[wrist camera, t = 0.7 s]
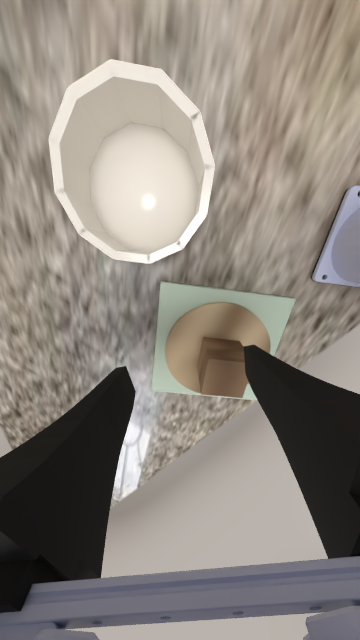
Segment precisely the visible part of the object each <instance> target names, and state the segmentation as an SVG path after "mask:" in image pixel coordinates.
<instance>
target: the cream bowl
mask: <svg viewBox="0 0 360 640" xmlns="http://www.w3.org/2000/svg"><path fill="white" fill-rule="evenodd" d="M49 147H50V155H51V164H52V173H53V181H54V190H55V193H56V195H57V197H58V199H59V200H60V202H61V204H62V206H63V207H64V209H65V211H66V213H67V214H68V216H69V218H70V220H71V221H72V223H73V225H74V227H75V228H76V230H77V232H78V234H79V235H80V236H82V237H83V238H84V239H86V240H87V241H89V242H90V243H91V244H93V245H94V246H96V247H97V248H98V249H100V250H101V251H102V252H104V253H105V254H107V255H108V256H109V257H111V258H112V259H116V260H123V261H131V262H139V263H146V264H151V263H153V262H155V261H157V260H159V259H162V258H164V257H166V256H168V255H171V254H173V253H175V252H177V251H180V250H182V249H183V248H184V247H185V245H186V244H187V243H188V241H189V240H190V238H191V237H192V236H193V234H194V233H195V231H196V230H197V229H198V227H199V226H200V224H201V223H202V222H203V220H204V219H205V217H206V216H207V213H208V207H209V200H210V194H211V188H212V182H213V176H214V170H215V164H214V160H213V157H212V153H211V149H210V146H209V142H208V138H207V135H206V131H205V127H204V124H203V120H202V116H201V113H200V111H199V109H198V108H197V107H196V106H195V105H194V104H193V103H192V102H191V101H190V100H189V99H188V97H187V96H186V95H185V94H184V93H183V92H182V91H181V90H180V89H179V88H178V87H177V86H176V84H175V83H174V82H173V81H172V80H171V79H170V78H169V77H168V76H167V75H166V74H165V72H164V71H163V70H162V69H158V68H153V67H148V66H143V65H138V64H133V63H127V62H122V61H117V60H112V59H110V60H108V61H107V62H105V63H104V64H102V65H101V66H99V67H98V68H96V69H94V70H93V71H91V72H90V73H88V74H87V75H85V76H84V77H82V78H81V79H79V80H77V81H76V82H74V83H73V84H71V85H70V86H68V87H67V90H66V92H65V95H64V98H63V101H62V103H61V106H60V109H59V111H58V114H57V117H56V119H55V122H54V125H53V128H52V130H51V133H50V136H49Z"/></svg>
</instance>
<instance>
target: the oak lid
mask: <svg viewBox="0 0 360 640" xmlns="http://www.w3.org/2000/svg"><path fill="white" fill-rule="evenodd" d="M248 345H256V346H257V347H259V348H261V349H262V350H264V351H266V352H267V353H269V354H270V337H269V334H268V331H267V329H266V327H265V325H264V324H263V323H262V321H261V320H260V319H259V318H258V317H257V316H256V315H254V314H253V313H252V312H251V311H249V310H248V309H246V308H244V307H242V306H240V305H237V304H234V303H229V302H212V303H206V304H203V305H200V306H197V307H195V308H193V309H191V310H190V311H188V312H186V313H185V314H184V315H183V316H181V317H180V318H179V319H178V320H177V321H176V323H175V324H174V325H173V327H172V329H171V330H170V332H169V335H168V338H167V342H166V349H165V357H166V363H167V366H168V369H169V371H170V373H171V374H172V376H173V377H174V378H175V379H176V380H177V381H178V382H179V383H180V384H181V385H183V386H184V387H186V388H188V389H190V390H192V391H195V392H198V393H201V394H202V395H213V396H224V397H235V398H243V395H244V392H245V389H246V386H247V384H249V382H248V379H247V377H246V374H245V360H244V346H248Z"/></svg>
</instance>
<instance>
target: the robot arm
mask: <svg viewBox="0 0 360 640" xmlns="http://www.w3.org/2000/svg"><path fill="white" fill-rule="evenodd" d="M358 192H360V186H358V185H357V186H353V187H351V188H349V189H348V190H347V192H346V194H345V196H344V199H343V201H342V204H341V206H340V209H339V211H338V214H337V216H336V219H335V221H334V224H333V226H332V229H331V231H330V234H329V236H328V239H327V241H326V244H325V246H324V248H323V251H322V253H321V256H320V258H319V261H318V263H317V266H316V268H315V271H314V273H313V276H312V279H313V280H314V281H317V282H324V283H331V284H339V285H346V286H354V287H360V194H359V196H358V195H357V194H358ZM323 275H324V278H323V279H322V276H323ZM244 360H245V374H246V377H247V379H248V382H249V384H250V386H251V389H252V391H253V393H254V395H255V396H256V398H257V400H258V402H259V403H260V405H261V407H262V409H263V411H264V412H265V414H266V416H267V418H268V419H269V421H270V423H271V425H272V426H273V428H274V430H275V432H276V434H277V436H278V439H279V441H280V443H281V445H282V447H283V450H284V452H285V454H286V456H287V459H288V461H289V463H290V466H291V468H292V470H293V472H294V475H295V477H296V479H297V482H298V484H299V487H300V489H301V491H302V494H303V496H304V499H305V501H306V504H307V506H308V508H309V510H310V513H311V516H312V518H313V521H314V523H315V526H316V528H317V531H318V533H319V536H320V538H321V541H322V543H323V546H324V549H325V551H326V554H327V556H328V559H320V560H309V561H297V562H287V563H274V564H263V565H250V566H238V567H227V568H215V569H204V570H192V571H179V572H169V573H156V574H144V575H133V576H121V577H110V578H101V571H102V561H103V554H104V547H105V539H106V531H107V523H108V517H109V511H110V504H111V498H112V492H113V487H114V481H115V475H116V470H117V465H118V460H119V455H120V451H121V447H122V444H123V441H124V437H125V434H126V430H127V427H128V424H129V420H130V417H131V413H132V410H133V405H134V399H135V392H136V391H135V389H134V386H133V384H132V381H131V378H130V376H129V373H128V370H127V368H126V366H124V367H118V368H116V369H114V370H113V371H112V372H111V373H110V374H109V375H108V376H107V377H106V378H105V379H104V380H103V381H101V382H100V383H99V384H98V385H97V386H96V387H95V388H94V389H93V390H92V391H91V392H90V393H89V394H88V395H86V396H85V397H84V398H83V399H82V400H81V401H80V402H78V403H77V404H76V405H75V406H74V407H73V408H72V409H70V410H69V411H68V412H67V413H65V414H64V415H63V416H62V417H60V418H59V419H58V420H56V421H55V422H54V423H52V424H51V425H50V426H48V427H47V428H45V429H44V430H42V431H41V432H39V433H38V434H37V435H35V436H34V437H32V438H31V439H29V440H28V441H26V442H25V443H23V444H22V445H20V446H19V447H17V448H15V449H14V450H12V451H11V452H9V453H7V454H6V455H4V456H2V457H1V458H0V640H99V639H98V638H97V636H96V635H95V633H93V632H82V631H71V630H65V629H75V628H90V627H106V626H121V625H136V624H152V623H166V622H181V621H197V620H213V619H228V618H243V617H259V616H274V615H288V614H304V613H320V612H325V613H321V614H318V615H314V616H310V617H307V619H306V626H307V629H308V632H309V633H308V634H307V635H306V636H305V637H304V638H303V640H360V394H357V393H354V392H352V391H348V390H346V389H343V388H340V387H337V386H335V385H332V384H330V383H327V382H325V381H322V380H320V379H318V378H315V377H313V376H311V375H309V374H306V373H304V372H302V371H300V370H298V369H296V368H294V367H292V366H290V365H288V364H287V363H285V362H283V361H281V360H279V359H278V358H276V357H274V356H272V355H271V354H269V353H267V352H266V351H264V350H262V349H261V348H259V347H257V346H256V345H248V346H244Z"/></svg>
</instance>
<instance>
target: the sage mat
mask: <svg viewBox="0 0 360 640" xmlns="http://www.w3.org/2000/svg"><path fill="white" fill-rule="evenodd" d="M295 300H296V299H294V298H291V297H283V296H275V295H267V294H260V293H252V292H244V291H236V290H228V289H220V288H212V287H204V286H196V285H188V284H181V283H173V282H165V281H161V286H160V298H159V309H158V321H157V332H156V344H155V355H154V367H153V378H152V390H151V391H159V392H170V393H181V394H192V395H202V394H201V393H198V392H195V391H192V390H190V389H188V388H186V387H184V386H183V385H181V384H180V383H179V382H178V381H177V380H176V379H175V378H174V377H173V376H172V374H171V373H170V371H169V369H168V366H167V363H166V357H165V349H166V342H167V338H168V335H169V332H170V330H171V329H172V327H173V325H174V324H175V323H176V321H177V320H178V319H179V318H180V317H181V316H183V315H184V314H185V313H186V312H188V311H190V310H191V309H193V308H195V307H197V306H200V305H203V304H206V303H212V302H229V303H234V304H237V305H240V306H242V307H244V308H246V309H248V310H249V311H251V312H252V313H253V314H254V315H256V316H257V317H258V318H259V319H260V320H261V321H262V323H263V324H264V325H265V327H266V329H267V331H268V334H269V337H270V354H271V355H272V356H274V355H275V352H276V349H277V347H278V344H279V342H280V339H281V337H282V334H283V331H284V329H285V326H286V324H287V321H288V318H289V316H290V313H291V311H292V308H293V306H294V303H295ZM203 396H213V395H203ZM214 397H224V396H214ZM225 398H235V397H225ZM236 399H247V400H257V398H256V396H255V395H254V393H253V391H252V389H251V386H250V384H247V386H246V389H245V392H244V395H243V398H236Z"/></svg>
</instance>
